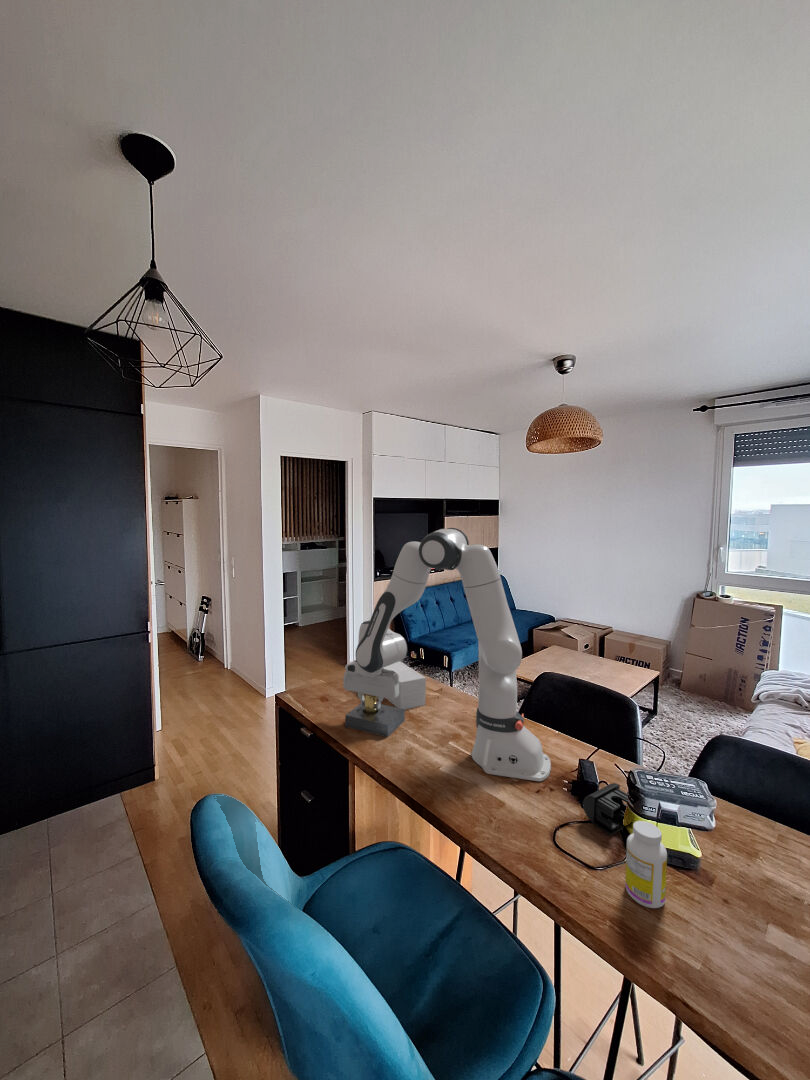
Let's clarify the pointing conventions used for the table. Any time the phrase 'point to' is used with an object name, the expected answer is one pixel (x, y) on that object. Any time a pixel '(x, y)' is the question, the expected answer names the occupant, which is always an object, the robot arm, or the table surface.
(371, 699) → the peg
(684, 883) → the table surface
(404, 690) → the light gray rectangular block
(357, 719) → the jig
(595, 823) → the end cap
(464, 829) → the table surface
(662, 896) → the supplement bottle
